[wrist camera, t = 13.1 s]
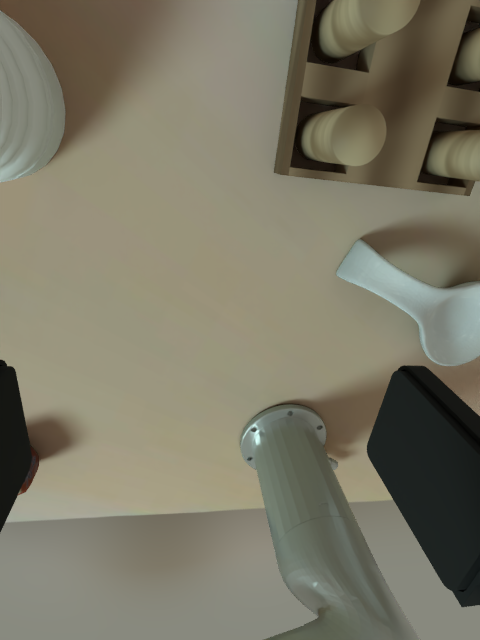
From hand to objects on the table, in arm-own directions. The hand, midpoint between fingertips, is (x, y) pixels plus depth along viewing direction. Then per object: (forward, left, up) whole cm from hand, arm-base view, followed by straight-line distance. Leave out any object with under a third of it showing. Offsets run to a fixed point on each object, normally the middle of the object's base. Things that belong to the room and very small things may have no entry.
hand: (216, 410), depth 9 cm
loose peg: (-6, -12, -30) cm, 33 cm away
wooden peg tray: (-10, -19, -30) cm, 37 cm away
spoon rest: (-29, -7, -31) cm, 43 cm away
